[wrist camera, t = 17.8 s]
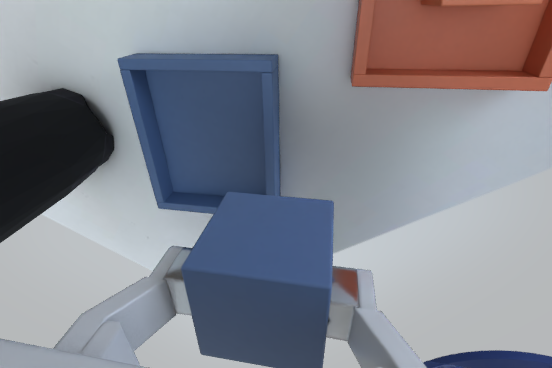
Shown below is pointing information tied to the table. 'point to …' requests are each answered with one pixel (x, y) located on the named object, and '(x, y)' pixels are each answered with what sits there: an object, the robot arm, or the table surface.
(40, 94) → the portable speaker
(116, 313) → the robot arm
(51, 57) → the table surface
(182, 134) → the blue tray
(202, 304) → the blue block
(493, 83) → the terracotta tray
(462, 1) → the terracotta block
